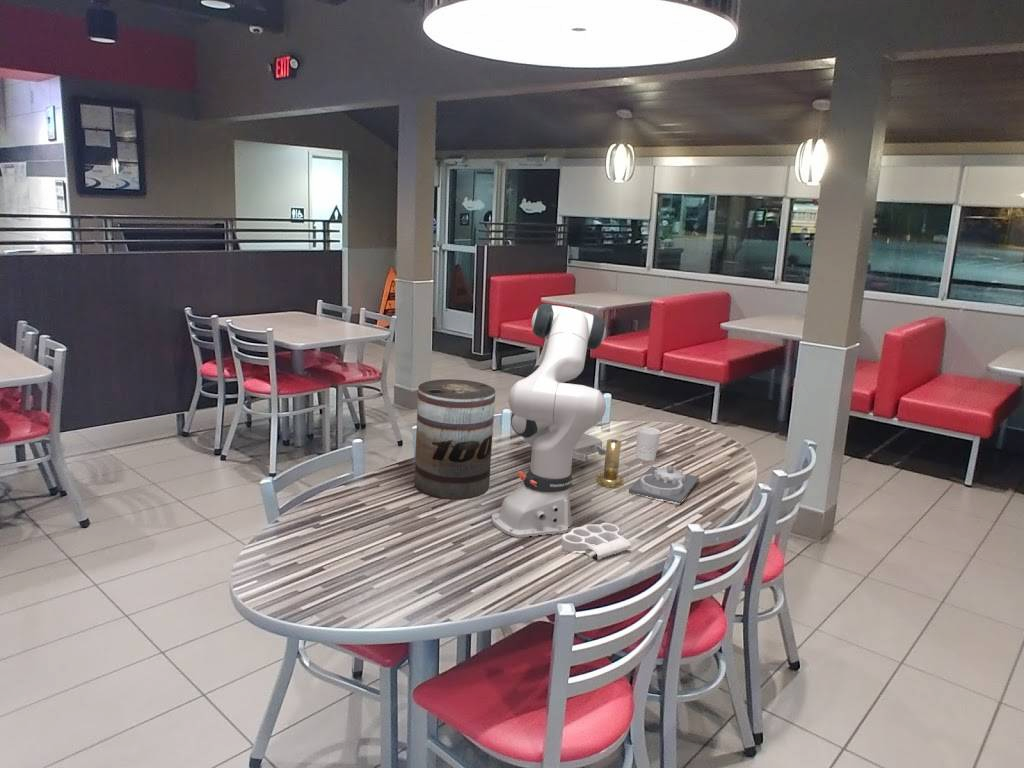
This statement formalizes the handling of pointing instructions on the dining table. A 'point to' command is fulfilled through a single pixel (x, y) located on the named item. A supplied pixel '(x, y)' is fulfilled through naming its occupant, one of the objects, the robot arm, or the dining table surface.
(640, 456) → the white cup
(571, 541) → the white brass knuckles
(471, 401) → the barrel
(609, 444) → the gold metal upright post
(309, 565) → the dining table surface
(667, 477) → the board
